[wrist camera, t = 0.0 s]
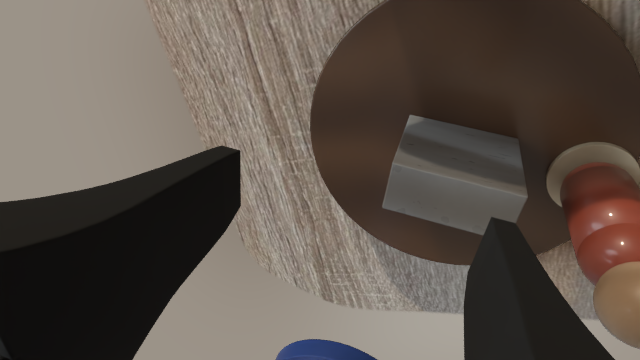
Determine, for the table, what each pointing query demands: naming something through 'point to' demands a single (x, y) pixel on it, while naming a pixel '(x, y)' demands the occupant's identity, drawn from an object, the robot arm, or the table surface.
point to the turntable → (489, 135)
